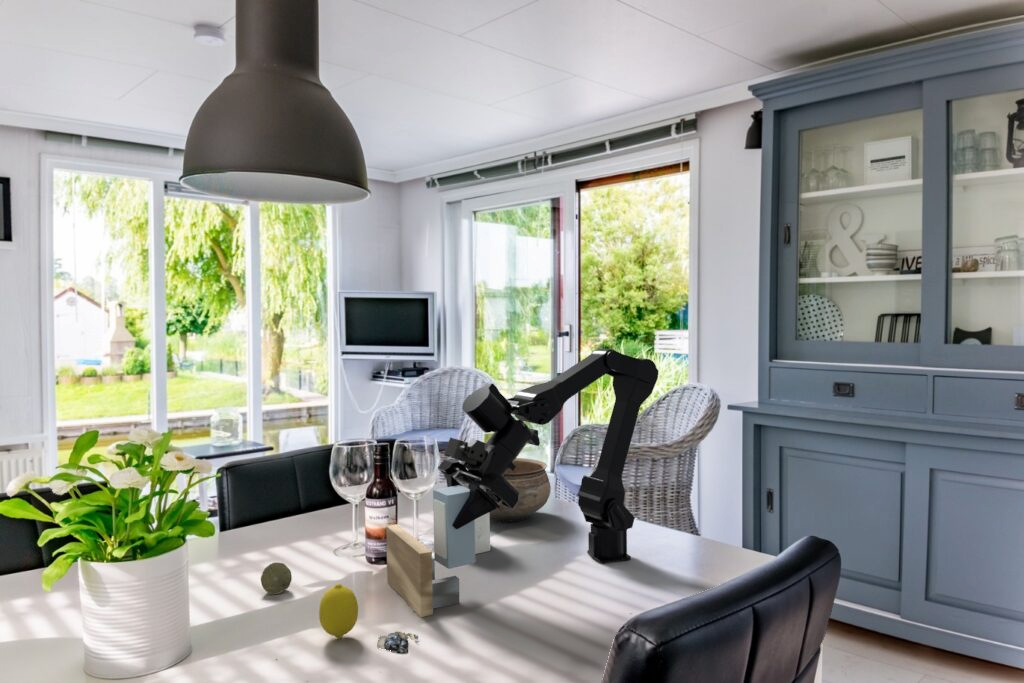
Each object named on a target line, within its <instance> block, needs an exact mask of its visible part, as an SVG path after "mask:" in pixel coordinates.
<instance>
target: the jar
mask: <svg viewBox="0 0 1024 683" xmlns="http://www.w3.org/2000/svg"><path fill="white" fill-rule="evenodd" d="M490 519H491V516H490V512H489V513H487V514H485V515H483V516H481V517H479V518H477V519H475V555H477V554H482V553H483V554H484V553H486V552H490V551H491V532H490V531H491V528H490V527H491V525H490V524H491V523H490V521H491V520H490Z"/></svg>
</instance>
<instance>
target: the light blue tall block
mask: <svg viewBox="0 0 1024 683" xmlns="http://www.w3.org/2000/svg"><path fill="white" fill-rule="evenodd" d="M432 491H433V492H432V500H433V501H432V502H433V505H432V508H433V511H432V512H433V544H434V545H433V546H434V547H433V548H434V549H433V551H434V552H433V553H434V555H433V558H434V560H435V562H436V563H437V564H440V565H442V566H443V567H444V568H446V569H449V570H450V569H454V568H458V567H463V566H467V565H471V564H475V563H476V554H475V520H473V521H471V522H470V523H468V524H466V525H464V526H462V527H461V528H459V529H455V528H454V527H453V523H454V521H455V519H456V517H457V515H458V514H459V512H460V511H461V509H462V507H463V506H464V504H465V502H466V501H467V499H468V498H469V495H470V489H468V488H465V487H463V486H460V485H457V486H451V487H447V486H446V487H445V486H444V487H440V488H439V487H438V488H435V489H433V490H432Z"/></svg>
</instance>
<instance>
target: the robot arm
mask: <svg viewBox="0 0 1024 683" xmlns="http://www.w3.org/2000/svg"><path fill="white" fill-rule="evenodd" d="M605 375H607V376H610V377H612V387H613V388H612V389H613V393H614V397H615V399H614V401H615V402H614V404H613V408H612V412H611V416H610V419H609V422H608V425H607V430H606V432H605V438H604V441H603V444H602V449H601V452H600V455H599V459H598V462H597V466H596V469H595V470H594V472H593V473H592V474H591V475H590V476H587V475H585V474H584V475H583V476H582V478H581V482H580V483H581V484H580V488H579V490H578V492H577V494H576V496H577V497H578V500H577V503H578V504H577V505H578V507H579V509H580V512H582V515H583V517H584V521H585V522H586V523H590V531H589V532H587V533H588V534H587V536H588V537H587V539H588V540H587V541H588V543H587V544H588V549H587V551H586V552H587V554H588V555H590V557H592V558H594V559H595V560H596V561H597V562H598V563H600V564H604V563H612V562H619V561H620V562H621V561H629V560H631V559H632V556H631V555H629V554H628V537H627V536H628V530H629V529H633V526H634V522H635V516H634V514H633V513H632V512H631V511H629V509H628V508H627V507H626V506H625V505H624V502H625V495H626V492H625V491H626V490H625V488H624V482H623V479H622V478H623V472H624V468H625V464H626V461H627V459H628V458H627V457H628V454H629V450H630V446H631V443H632V439H633V436H634V432H635V427H636V424H637V420H638V417H639V413H640V408H641V406H642V405H643V403H644V402H645V401H646V400H647V399H648V398H649V397H650V396H651V394H653V391H654V389H655V387H656V384H657V382H658V379H659V369H658V368H657V365H656V363H655V362H654V361H653V360H652V359H650V358H637V357H634V356H631V355H628V354H624V353H621V352H618V350H615V349H611V348H598V349H595V350H593V351H592V352H591V354H590V355H588V356H586V357H585V358H583V359H582V360H580V361H579V362H577V363H575V364H574V365H573V366H571V367H569V368H568V369H566V370H565V371H563V372H561V373H560V374H558V375H557V376H555V377H553V378H552V379H551V380H548V381H546V382H542V383H537V384H533V385H531V386H528V387H526V388H524V389H521V390H519V391H518V392H517V393H515V395H514V396H513V397H509V398H506V397H505V396H504V395H503V394H502V393H501V392H500V391H499V390H500V389H498V387H497V386H496V385H495V384H494V383H491V382H485V384H484V385H483V386H482V387H479V388H477V389H476V390H474V391H473V392H471V394H468V396H467V397H466V398H465V399H464V402H463V403H462V408H461V409H462V411H463V412H464V413H465V414H466V415H467V417H468V418H470V419H471V420H472V421H473V422H474V423H475V425H476V426H478V427H479V429H480V430H481V431H483V432H484V433H486V434H487V433H493V434H492V435H491V436H490V437H489V438H488V440H487V441H486V442H483V441H481V440H479V439H475V438H472V439H471V440H470V441H469V442H466V441H464V440H461V439H458V438H453V437H451V436H450V437H449V440H448V442H447V445H446V448H445V450H444V452H443V455H444V456H446V457H448V458H447V459H443V460H442V462H441V463H440V464H439V466H437V470H438V471H440V473H441V474H442V475H444V476H443V477H444V478H445V480H446V487H451V486H457V485H460V486H463V487H465V488H468V489H470V495H469V498H468V499H467V501H466V502H465V504H464V506H463V507H462V509H461V511H460V512H459V514H458V515H457V517H456V519H455V521H454V523H453V527H454V528H455V529H459V528H461V527H462V526H464V525H466V524H468V523H470V522H471V521H473V520H475V519H477V518H479V517H481V516H483V515H485V514H487V513H489V512H491V511H493V510H495V509H500V508H501V507H500V506H499V505H498V504H499V502H500V501H501V500H502V505H503V506H504V507H507V508H509V509H512V510H513V509H514V508H515V506H516V505H517V503H518V502H519V492H518V491H517V490H516V489H515V488H514V487H513V486H512V485H511V484H510V483H509V482H508V481H507V480H506V479H505V478H504V477H503V475H504V474H505V473H506V471H507V470H511V471H513V470H514V469H515V467H516V466H515V465H514V464H513V462H514V460H515V459H516V458H518V456H519V455H520V454H521V452H522V450H523V449H524V448H525V447H526V445H527V444H528V445H532V446H537V447H539V446H540V444H541V442H540V437H539V430H538V429H534V428H531V427H529V426H528V424H529V423H531V424H535V425H540V426H543V425H546V424H549V423H550V422H552V421H553V420H554V418H556V416H557V415H559V413H561V412H562V409H563V407H564V405H565V403H566V402H567V401H568V400H569V399H571V398H572V397H574V396H575V395H576V394H578V393H580V392H581V391H583V390H584V389H585V388H587V387H589V386H590V385H592V384H593V383H594V382H596V381H598V380H599V379H600V378H602V377H603V376H605ZM513 415H514V416H513ZM525 422H526V423H528V424H526V423H525ZM449 457H451V458H449Z"/></svg>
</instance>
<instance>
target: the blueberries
mask: <svg viewBox="0 0 1024 683" xmlns="http://www.w3.org/2000/svg"><path fill="white" fill-rule="evenodd" d="M408 636H409V637H408ZM408 639H410V640H411V641H413V642H414V643H417V642H419V641H420V639H419V636H418V635H416V633H415V634H414V633H412V632H411V633H406V632H402V631H395V632H390V633H389V634H388V635H387V636H386V635H382V636H381V635H380V636H379V637H378V640H377V644H376V645H378V647H379V648H381V649H386V650H385V651H387V650H389V651H388V652H390V650H391V653H396V654H398V655H399V654H400V655H401V654H408V653H409V650H408V648H409V644H410V643H409V640H408ZM417 645H420V644H418V643H417ZM379 648H377V649H378V650H381V649H379ZM392 651H393V652H392Z"/></svg>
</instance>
